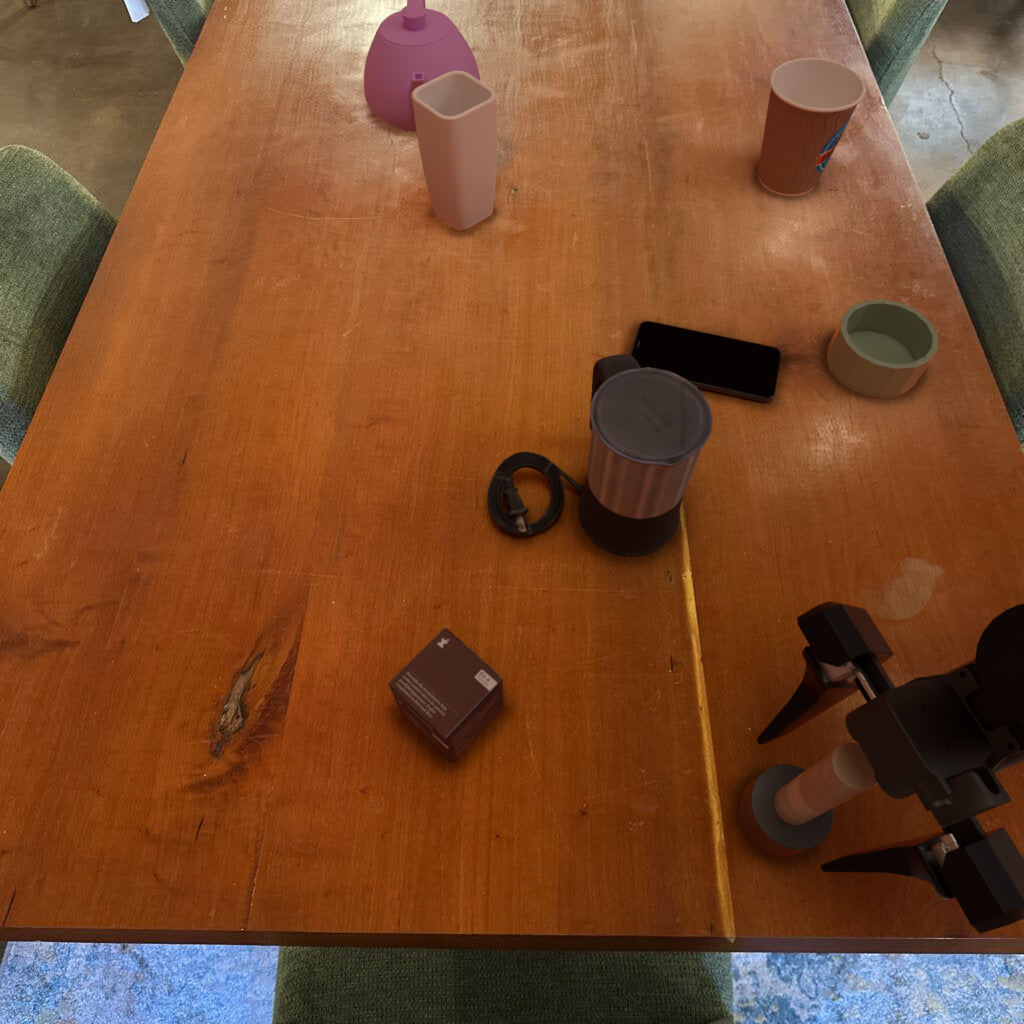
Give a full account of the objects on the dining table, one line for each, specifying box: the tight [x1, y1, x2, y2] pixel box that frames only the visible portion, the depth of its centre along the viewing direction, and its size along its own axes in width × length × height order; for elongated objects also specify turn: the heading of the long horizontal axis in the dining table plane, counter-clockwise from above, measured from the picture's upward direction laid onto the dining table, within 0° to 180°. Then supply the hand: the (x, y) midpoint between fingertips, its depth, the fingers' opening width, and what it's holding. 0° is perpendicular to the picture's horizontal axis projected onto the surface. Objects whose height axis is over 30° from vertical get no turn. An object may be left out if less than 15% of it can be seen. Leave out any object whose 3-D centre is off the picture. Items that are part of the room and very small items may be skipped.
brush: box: [737, 741, 877, 858], centre depth 49 cm, size 6×6×16 cm
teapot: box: [363, 0, 481, 133], centre depth 99 cm, size 22×16×12 cm
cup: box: [412, 71, 498, 231], centre depth 86 cm, size 7×7×15 cm
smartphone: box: [629, 320, 782, 403], centre depth 79 cm, size 7×1×15 cm
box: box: [387, 627, 504, 763], centre depth 58 cm, size 6×6×7 cm
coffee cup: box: [757, 57, 866, 197], centre depth 89 cm, size 10×10×12 cm
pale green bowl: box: [826, 298, 940, 399], centre depth 77 cm, size 9×9×4 cm
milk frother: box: [486, 353, 714, 557], centre depth 64 cm, size 14×16×15 cm
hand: (790, 802), depth 49 cm, fingers open, 8 cm apart
